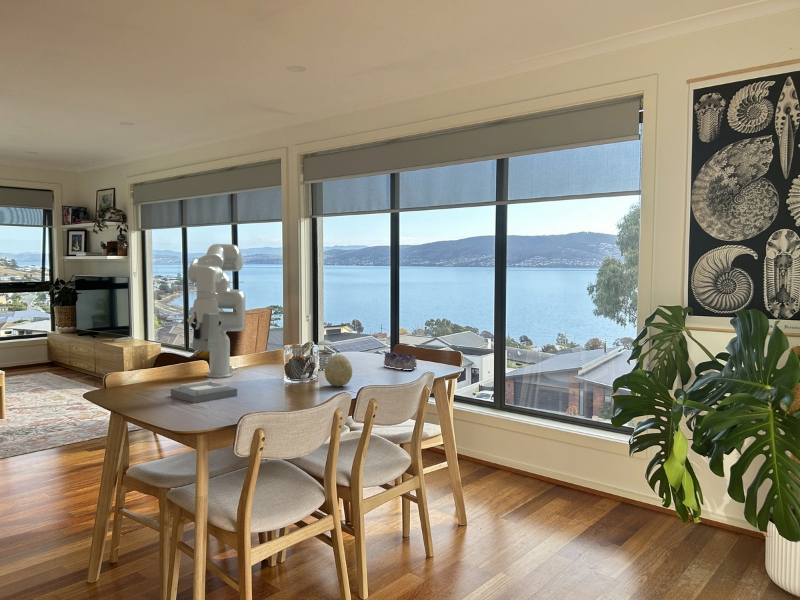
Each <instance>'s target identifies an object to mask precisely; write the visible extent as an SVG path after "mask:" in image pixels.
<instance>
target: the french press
mask: <svg viewBox="0 0 800 600" xmlns="http://www.w3.org/2000/svg"><path fill="white" fill-rule="evenodd" d="M323 325H324V326H327V325H328V323H327V322H325V321H324V322H323ZM317 345H318V346H330V348H331V349H334V350H335V355H336V354H338V349H337V348H336V347H335V346H334V345H333V342H332V341H330V340H327V339H323V340H320V341H318V342H317ZM331 349H319V352H318V353H319V357H320V359H319V361H320V362H319V363H320V364H319V365H320V369H325V366H326V364H327V362H328V361H329V359H330V358H331V357H333V353H332V350H331Z"/></svg>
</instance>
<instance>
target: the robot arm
mask: <svg viewBox="0 0 800 600" xmlns="http://www.w3.org/2000/svg"><path fill="white" fill-rule="evenodd" d="M243 264H244V261H243V257H242V252H241V250H240V248H239V246H237V245H236V244H227V243H215V244H212V245H210V246H209V247H208V249H207V252H206V254H205V255H202V256H201V257H197V258H195V259H193V260H192V261H191V262H190V265H189V267H188V270H187V278H188V280H189V282H190V283H193V284H196V298H195V299H194V300H193V305H192V313H191V316H190V317H188V318H187V319H186V321H187V323H188V324H189V326H190V327H191V328H192V330H193V333H194V339H199V338H200V330H199V329H198V328H199V326H200V324H201V323H203V319H204V314H205V313H217V314H219V329H218V346H217V350H214V351H209V371H208V372H207V373H206V377H207V378H215V379H217V378H219V379H221V378H222V379H223V378H229V377H232V376H233V375H234V373H233V371H238V370H239V366H236V365H235V366H231V364H230V362H231V361H230V360H231V359H230V357H231V355H230V354H231V353H230V352H231V341H230V337H229V336H228V334H227V333H226V332H242V331H243V330H244V329H245V326H246V295H245V292H244V291H243V290H241V289H232V288H231V286H230V285H231V279H230V277H229V275H228V274H227V273H226V272H239V271H241V270H242V268H243ZM219 309H221V310H223V309H225V310H229V309H230V310H235V311H221V310H220V311H219ZM194 318H195V322H194Z"/></svg>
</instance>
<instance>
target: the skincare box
mask: <svg viewBox="0 0 800 600" xmlns="http://www.w3.org/2000/svg"><path fill="white" fill-rule="evenodd" d="M194 322H195V318H194ZM194 322H193V323H194ZM198 329H199V330H200V338H199V339H194V332H193V336H192V347H191V348H192V350H193V351H200V352H210V351H214V350H217V346H218V329H219V314H217V313H205V314H204V319H203V323H201V324H200V326H199V328H198Z"/></svg>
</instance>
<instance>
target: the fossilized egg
mask: <svg viewBox="0 0 800 600" xmlns="http://www.w3.org/2000/svg"><path fill="white" fill-rule="evenodd" d="M327 361H328V360H327ZM326 363H327V364H326V366H325V370H324V377H325V380H326V381H327V383H329V385H331V386H332V387H335V386H341V387H344V386H345V385H347V384H348V383H349V382H350V381H351V379H352V376H353V367H352V364H351V362H350V360H349V359H348V358H347V357H346V356H345V355H343V354H340V353H337V354H336V353H335V354H334V355H332V357H331V358H330V359H329V361H328V362H326ZM343 385H344V386H343Z"/></svg>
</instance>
